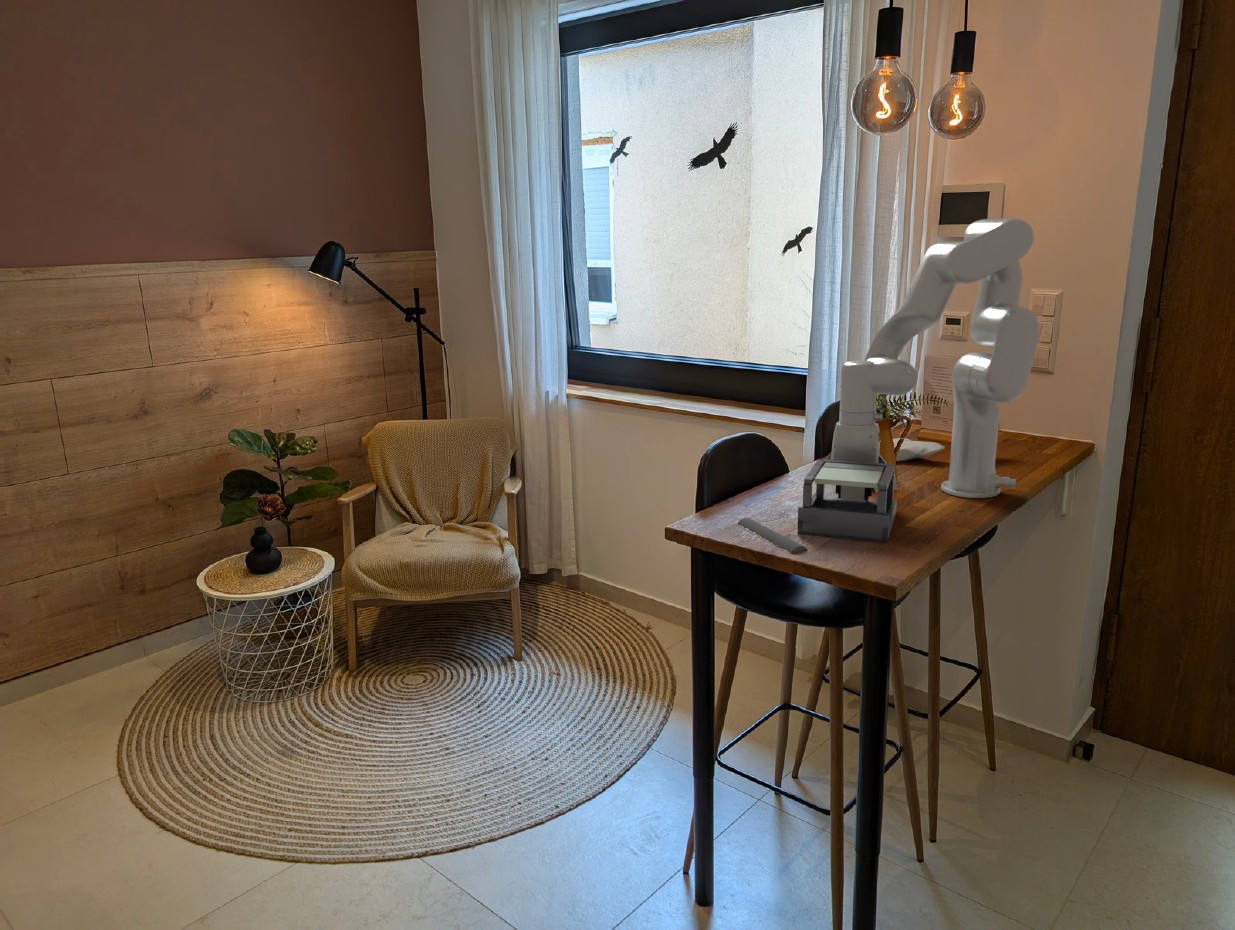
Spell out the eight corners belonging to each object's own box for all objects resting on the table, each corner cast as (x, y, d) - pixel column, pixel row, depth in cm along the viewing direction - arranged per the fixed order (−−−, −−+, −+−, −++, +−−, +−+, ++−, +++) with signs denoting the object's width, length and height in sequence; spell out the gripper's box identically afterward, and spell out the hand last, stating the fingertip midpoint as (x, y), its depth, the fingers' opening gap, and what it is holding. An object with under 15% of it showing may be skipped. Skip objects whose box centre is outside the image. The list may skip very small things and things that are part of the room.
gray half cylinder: (790, 556, 167) (790, 547, 166) (735, 527, 184) (735, 519, 184) (809, 553, 168) (809, 544, 168) (753, 524, 186) (753, 516, 185)
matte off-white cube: (866, 499, 199) (867, 473, 197) (863, 505, 194) (864, 479, 193) (843, 497, 201) (844, 471, 199) (840, 503, 196) (841, 477, 195)
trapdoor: (883, 477, 184) (884, 466, 184) (876, 495, 172) (877, 483, 172) (825, 473, 189) (825, 462, 188) (814, 490, 177) (814, 478, 176)
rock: (912, 473, 220) (949, 458, 228) (911, 455, 219) (948, 440, 227) (845, 463, 238) (882, 449, 246) (844, 446, 237) (881, 433, 245)
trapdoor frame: (896, 513, 188) (898, 463, 186) (887, 542, 171) (890, 488, 169) (813, 506, 195) (815, 458, 192) (797, 533, 178) (798, 480, 175)
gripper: (899, 416, 193) (894, 496, 198) (820, 412, 199) (817, 490, 204) (896, 423, 186) (891, 506, 191) (814, 419, 192) (811, 499, 197)
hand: (853, 497), depth 197 cm, fingers closed on matte off-white cube, 5 cm apart
